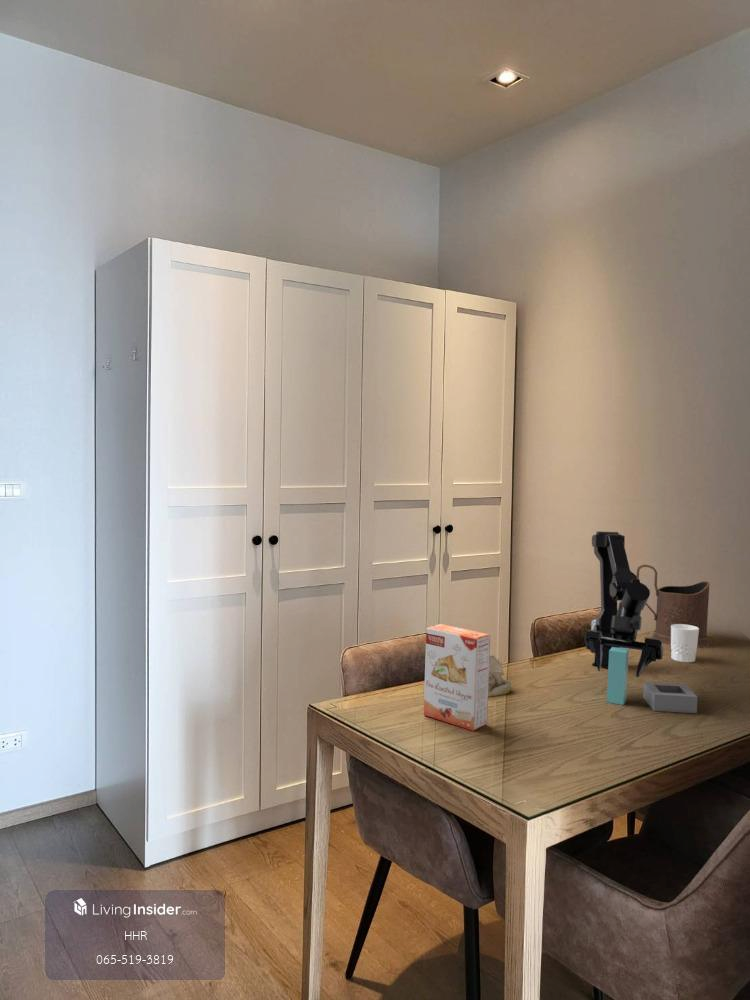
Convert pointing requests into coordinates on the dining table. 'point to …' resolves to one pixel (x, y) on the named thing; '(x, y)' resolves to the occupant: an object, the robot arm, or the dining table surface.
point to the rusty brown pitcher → (680, 609)
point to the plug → (617, 675)
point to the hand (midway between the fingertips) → (617, 673)
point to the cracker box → (457, 676)
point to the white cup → (684, 642)
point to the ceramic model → (497, 678)
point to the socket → (670, 697)
